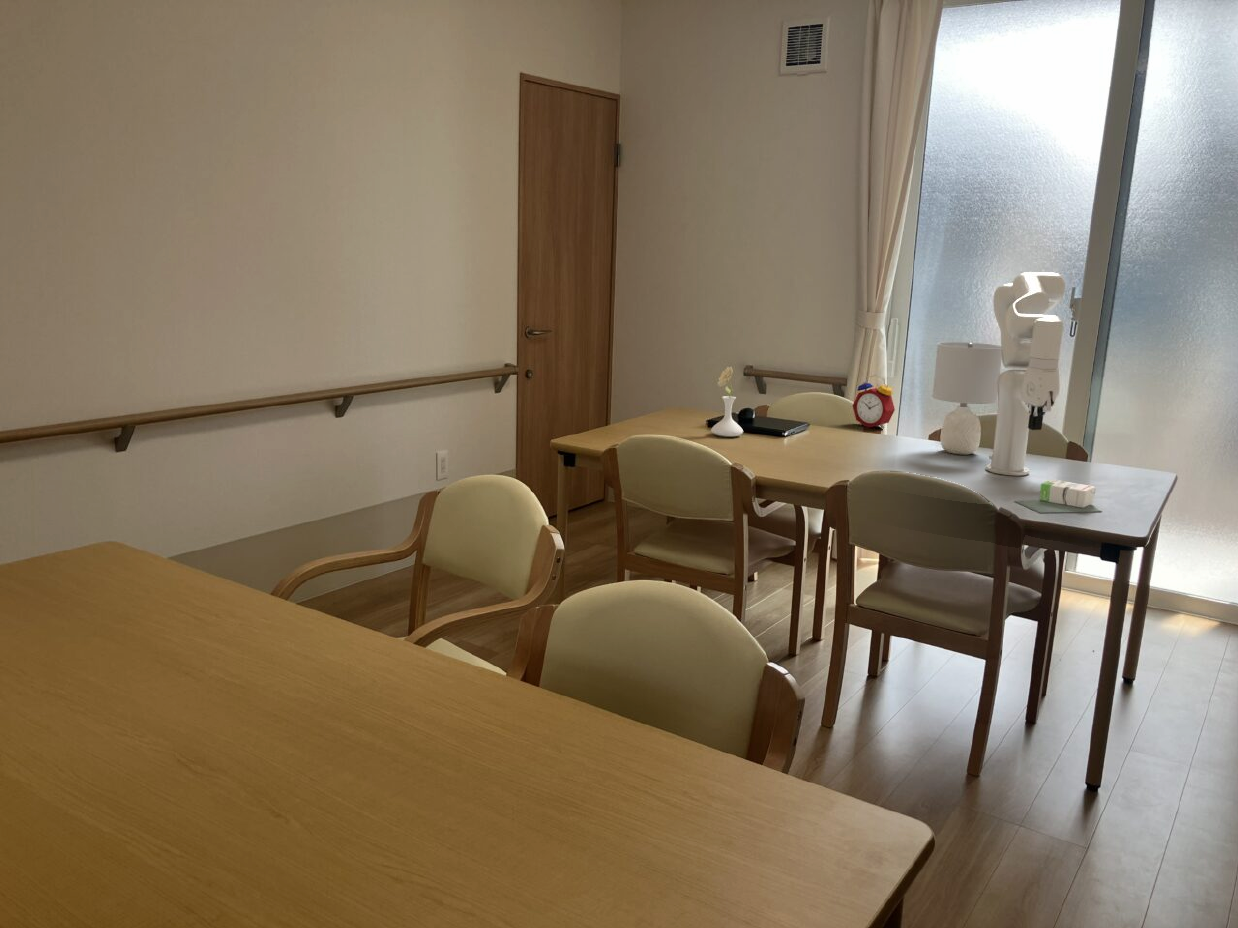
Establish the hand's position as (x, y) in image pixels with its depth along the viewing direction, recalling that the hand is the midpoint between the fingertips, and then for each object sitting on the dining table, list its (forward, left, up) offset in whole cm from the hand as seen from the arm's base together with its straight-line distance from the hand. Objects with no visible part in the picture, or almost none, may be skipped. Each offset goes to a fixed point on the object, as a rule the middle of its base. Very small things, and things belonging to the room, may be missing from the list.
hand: (1034, 429), depth 277 cm
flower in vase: (-85, -63, -19) cm, 108 cm away
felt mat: (+15, 0, -18) cm, 24 cm away
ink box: (+7, +1, -16) cm, 17 cm away
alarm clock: (-102, 0, -19) cm, 104 cm away
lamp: (-54, +9, -19) cm, 58 cm away
